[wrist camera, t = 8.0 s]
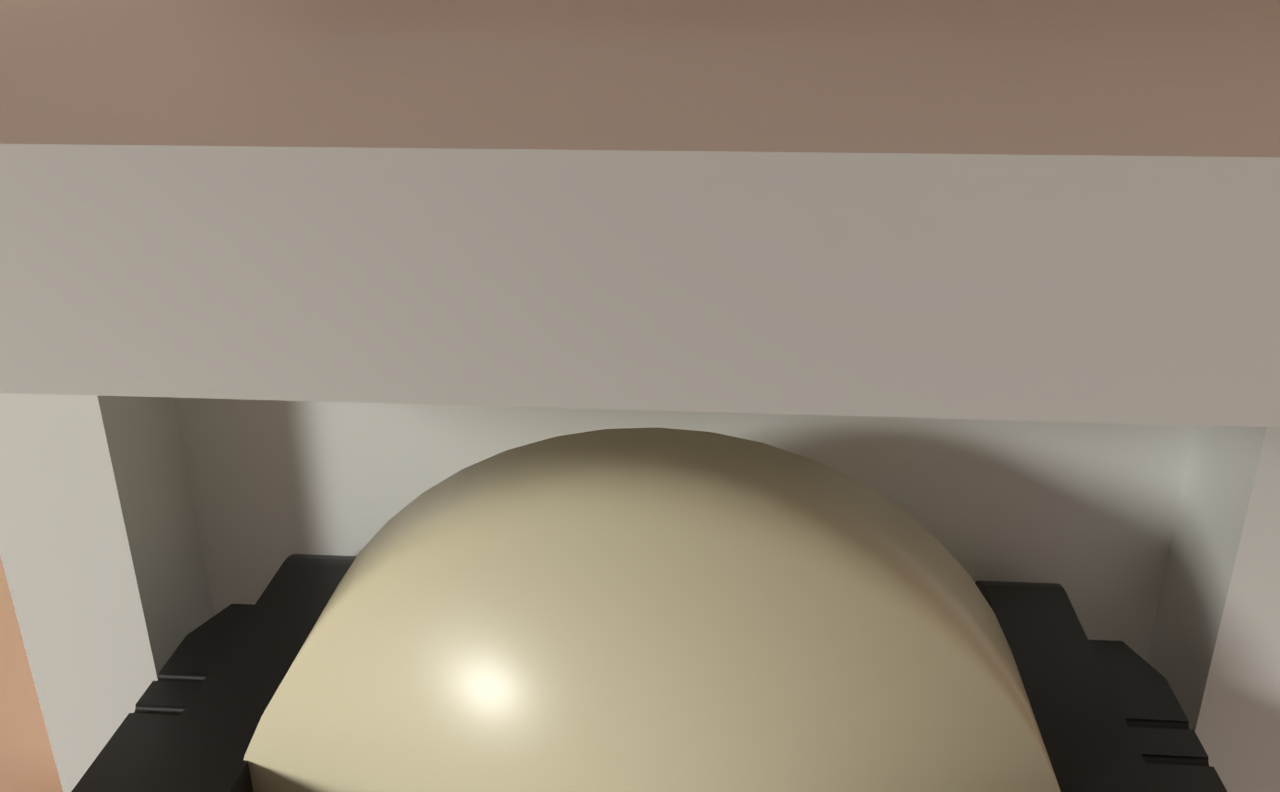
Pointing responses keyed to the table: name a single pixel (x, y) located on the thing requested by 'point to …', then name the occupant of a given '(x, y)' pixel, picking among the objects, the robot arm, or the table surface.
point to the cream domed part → (652, 637)
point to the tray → (642, 294)
